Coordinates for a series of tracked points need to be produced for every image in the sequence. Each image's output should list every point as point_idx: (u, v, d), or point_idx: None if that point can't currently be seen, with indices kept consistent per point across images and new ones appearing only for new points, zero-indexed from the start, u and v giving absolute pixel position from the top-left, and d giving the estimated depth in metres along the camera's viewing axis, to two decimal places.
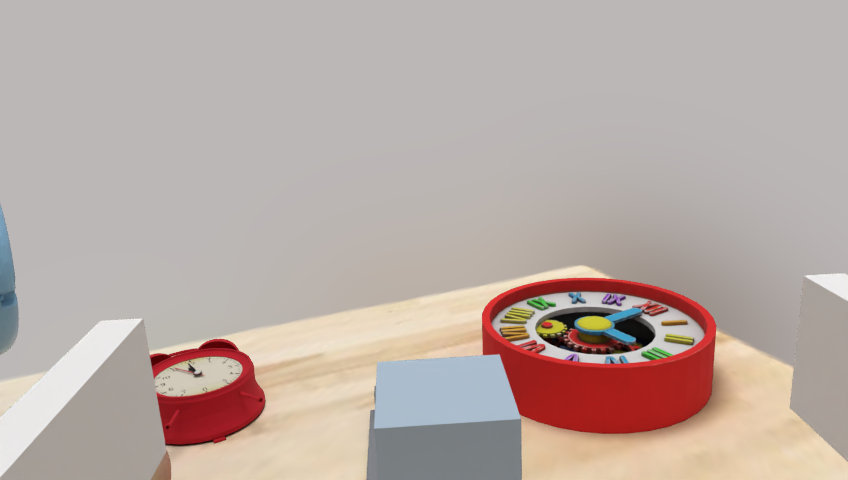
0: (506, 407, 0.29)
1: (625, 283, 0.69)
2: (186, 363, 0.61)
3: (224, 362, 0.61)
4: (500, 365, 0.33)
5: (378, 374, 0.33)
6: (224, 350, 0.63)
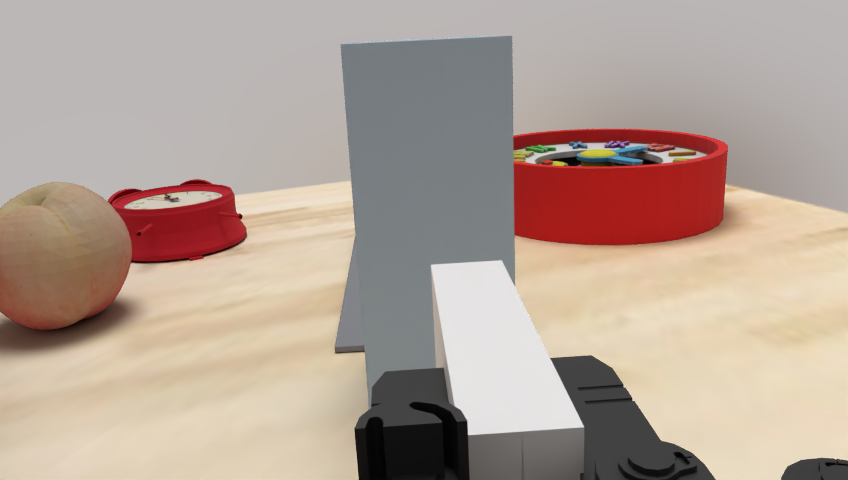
0: None
1: (628, 130, 0.66)
2: (162, 195, 0.58)
3: (202, 193, 0.57)
4: None
5: None
6: (203, 185, 0.59)
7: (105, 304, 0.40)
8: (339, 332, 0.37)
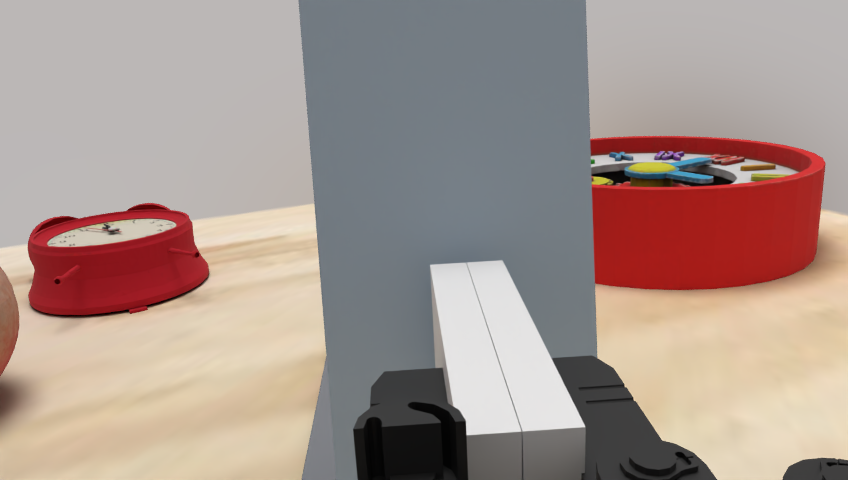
0: None
1: (683, 138, 0.54)
2: (101, 225, 0.45)
3: (152, 222, 0.45)
4: None
5: None
6: (155, 211, 0.47)
7: None
8: (310, 450, 0.24)
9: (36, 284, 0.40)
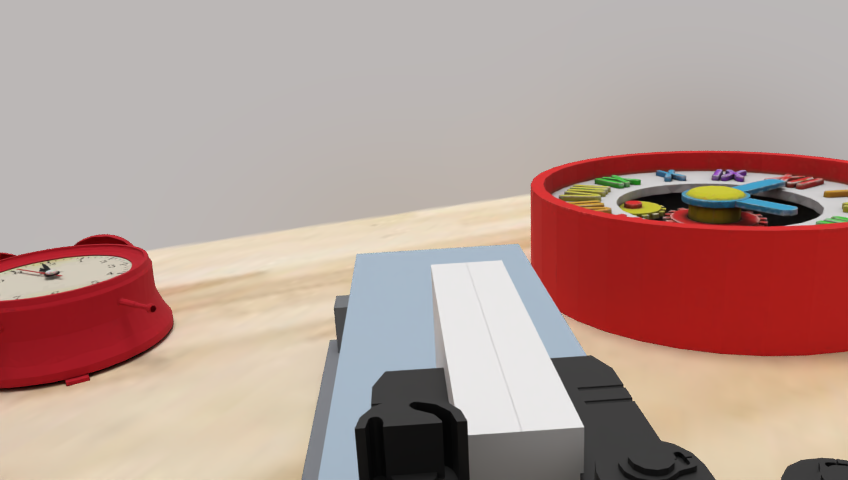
0: None
1: (744, 154, 0.45)
2: (41, 264, 0.37)
3: (104, 261, 0.37)
4: None
5: None
6: (109, 246, 0.38)
7: None
8: None
9: None
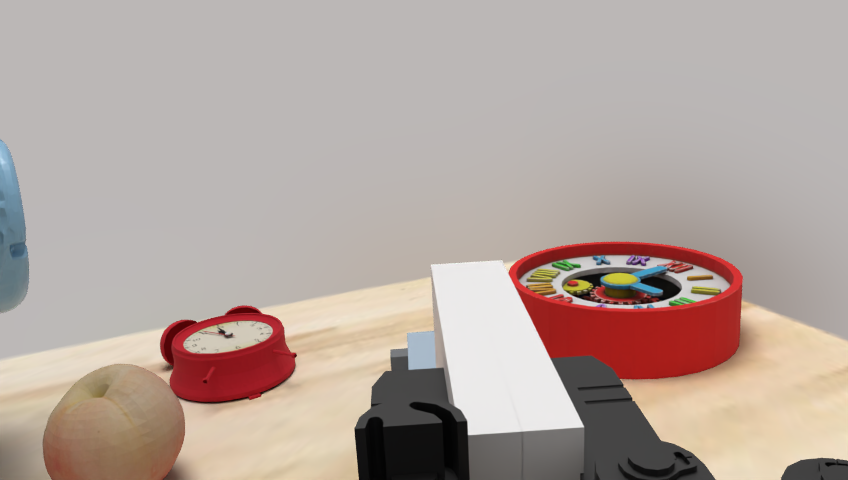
0: None
1: (649, 245, 0.70)
2: (214, 327, 0.61)
3: (253, 325, 0.61)
4: None
5: None
6: (251, 314, 0.63)
7: (162, 479, 0.43)
8: None
9: (179, 378, 0.56)
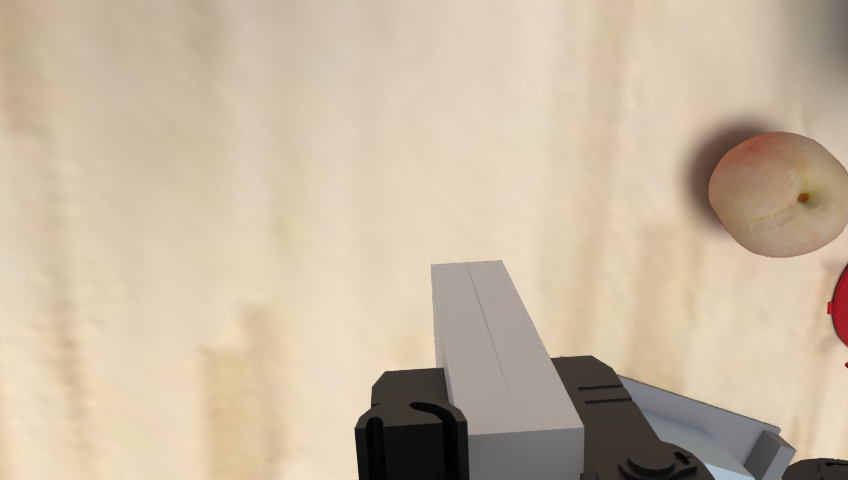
0: None
1: None
2: None
3: None
4: None
5: (717, 442, 0.53)
6: None
7: None
8: None
9: None
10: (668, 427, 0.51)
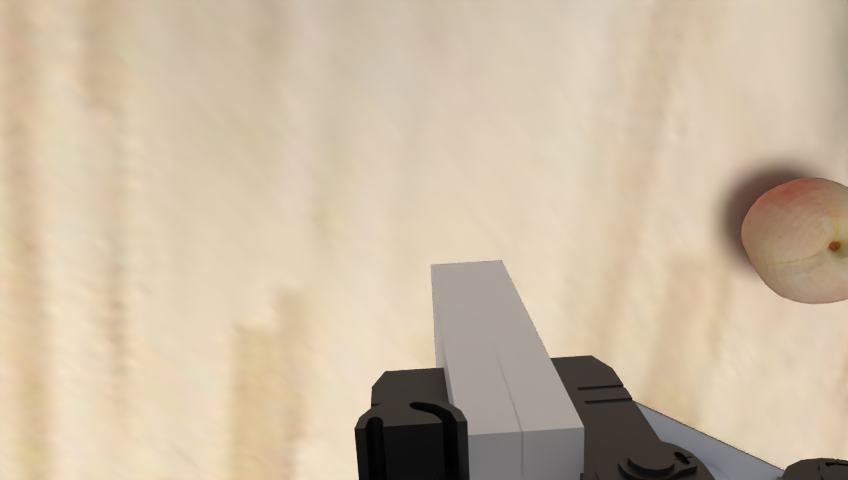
0: None
1: None
2: None
3: None
4: None
5: None
6: None
7: None
8: None
9: None
10: None
